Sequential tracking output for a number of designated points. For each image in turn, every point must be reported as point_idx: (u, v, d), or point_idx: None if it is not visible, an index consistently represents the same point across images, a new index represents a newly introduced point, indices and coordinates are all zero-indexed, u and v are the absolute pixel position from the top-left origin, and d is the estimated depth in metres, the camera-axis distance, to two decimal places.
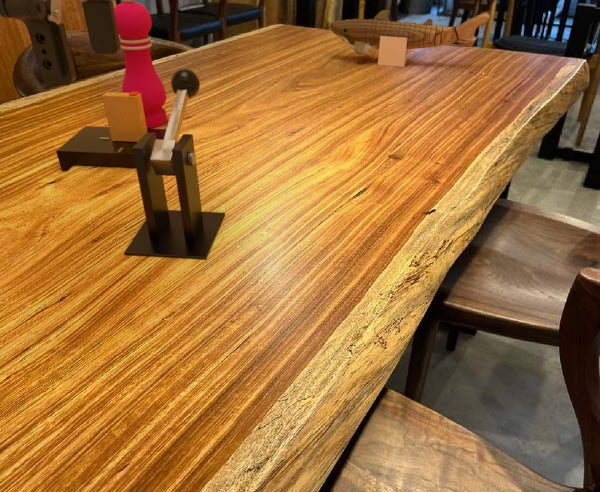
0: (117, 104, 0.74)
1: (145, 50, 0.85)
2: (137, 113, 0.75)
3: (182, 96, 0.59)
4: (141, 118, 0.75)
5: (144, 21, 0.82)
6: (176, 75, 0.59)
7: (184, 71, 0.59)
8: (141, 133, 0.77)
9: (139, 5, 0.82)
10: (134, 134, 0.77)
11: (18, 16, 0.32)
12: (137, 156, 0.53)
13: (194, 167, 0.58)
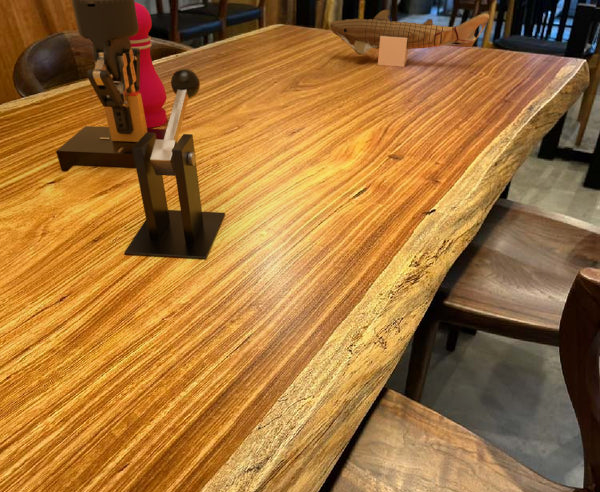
0: None
1: (145, 50, 0.85)
2: (137, 113, 0.75)
3: (182, 96, 0.59)
4: (141, 118, 0.75)
5: (144, 21, 0.82)
6: (176, 75, 0.59)
7: (184, 71, 0.59)
8: (141, 133, 0.77)
9: (139, 5, 0.82)
10: (134, 134, 0.77)
11: (111, 106, 0.72)
12: (137, 156, 0.53)
13: (194, 167, 0.58)
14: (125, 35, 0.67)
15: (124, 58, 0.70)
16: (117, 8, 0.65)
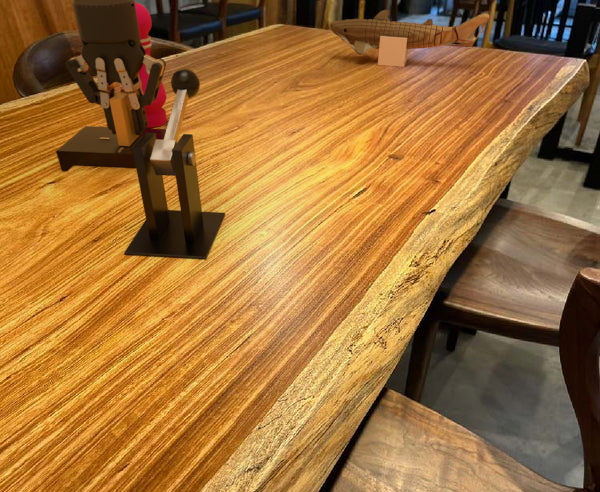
0: (127, 104, 0.74)
1: (145, 50, 0.85)
2: None
3: (182, 96, 0.59)
4: None
5: (144, 21, 0.82)
6: (176, 75, 0.59)
7: (184, 71, 0.59)
8: None
9: (139, 5, 0.82)
10: None
11: None
12: (137, 156, 0.53)
13: (194, 167, 0.58)
14: None
15: None
16: None
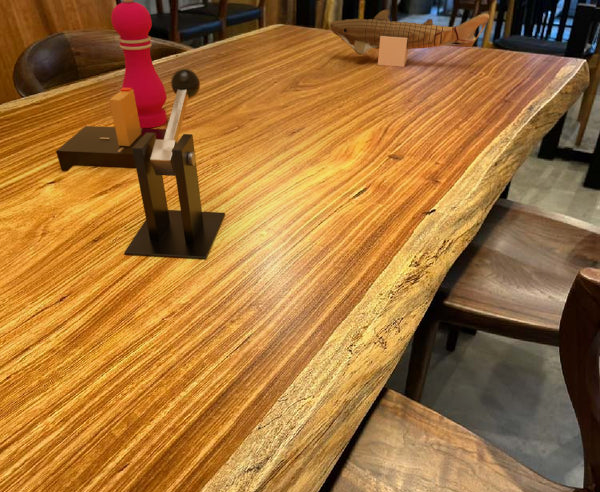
0: (127, 104, 0.74)
1: (145, 50, 0.85)
2: (135, 106, 0.77)
3: (182, 96, 0.59)
4: (136, 110, 0.78)
5: (144, 21, 0.82)
6: (176, 75, 0.59)
7: (184, 71, 0.59)
8: (139, 125, 0.79)
9: (139, 5, 0.82)
10: (137, 129, 0.78)
11: None
12: (137, 156, 0.53)
13: (194, 167, 0.58)
14: None
15: None
16: None
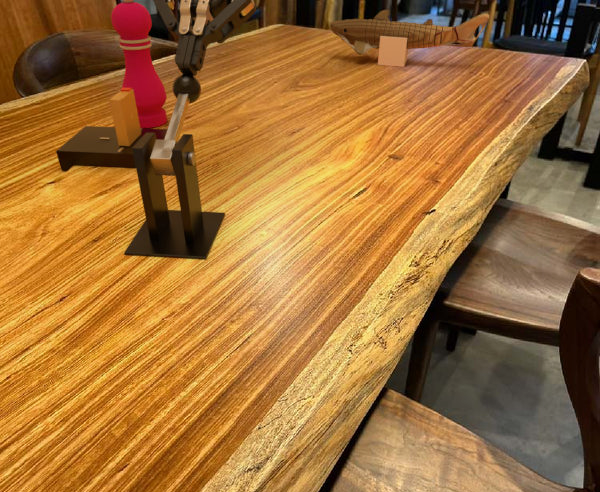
0: (127, 104, 0.74)
1: (145, 50, 0.85)
2: (135, 106, 0.77)
3: (183, 100, 0.60)
4: (136, 110, 0.78)
5: (144, 21, 0.82)
6: (178, 80, 0.60)
7: (186, 76, 0.60)
8: (139, 125, 0.79)
9: (139, 5, 0.82)
10: (137, 129, 0.78)
11: (218, 35, 0.60)
12: (137, 156, 0.53)
13: (194, 167, 0.58)
14: None
15: None
16: None
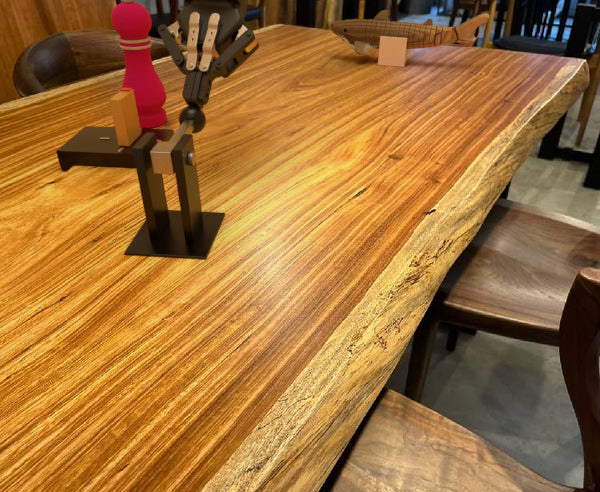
0: (127, 104, 0.74)
1: (145, 50, 0.85)
2: (135, 106, 0.77)
3: (188, 123, 0.62)
4: (136, 110, 0.78)
5: (144, 21, 0.82)
6: (185, 108, 0.63)
7: (192, 106, 0.63)
8: (139, 125, 0.79)
9: (139, 5, 0.82)
10: (137, 129, 0.78)
11: (223, 70, 0.64)
12: (137, 156, 0.53)
13: (194, 167, 0.58)
14: None
15: None
16: None
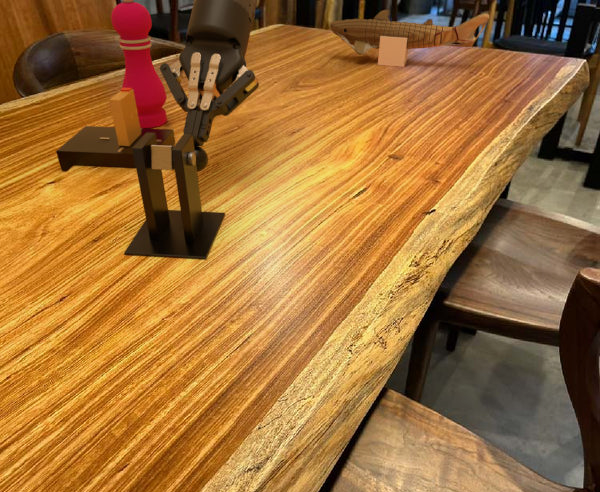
0: (127, 104, 0.74)
1: (145, 50, 0.85)
2: (135, 106, 0.77)
3: None
4: (136, 110, 0.78)
5: (144, 21, 0.82)
6: None
7: None
8: (139, 125, 0.79)
9: (139, 5, 0.82)
10: (137, 129, 0.78)
11: (224, 109, 0.65)
12: (137, 156, 0.53)
13: (194, 167, 0.58)
14: None
15: None
16: None
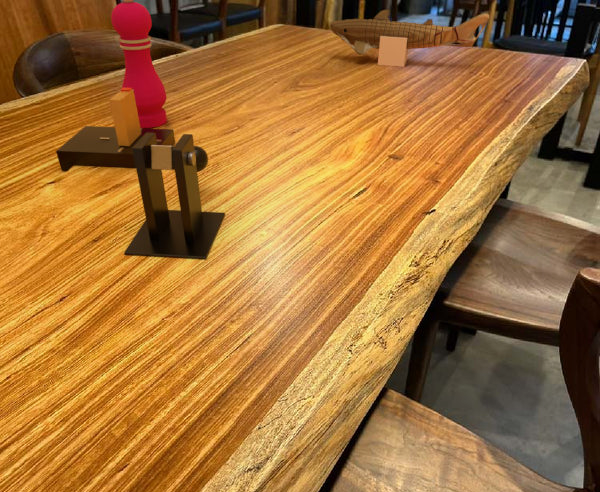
0: (127, 104, 0.74)
1: (145, 50, 0.85)
2: (135, 106, 0.77)
3: None
4: (136, 110, 0.78)
5: (144, 21, 0.82)
6: None
7: (196, 146, 0.66)
8: (139, 125, 0.79)
9: (139, 5, 0.82)
10: (137, 129, 0.78)
11: None
12: (137, 156, 0.53)
13: (194, 167, 0.58)
14: None
15: None
16: None
